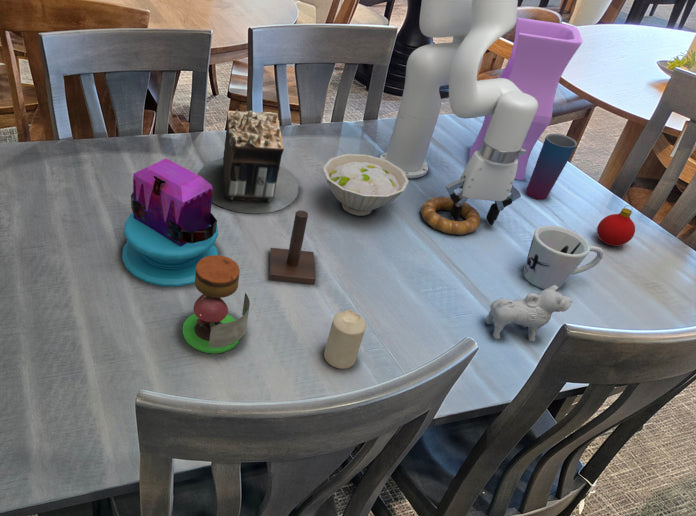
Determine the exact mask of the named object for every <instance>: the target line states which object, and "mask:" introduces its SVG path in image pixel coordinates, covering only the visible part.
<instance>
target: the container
mask: <svg viewBox="0 0 696 516" xmlns="http://www.w3.org/2000/svg"><path fill="white" fill-rule="evenodd" d="M582 43H583V39H582V36H581V33H580V30H579V28H578V27H575V26H573V25H570V24H564V23H558V22H553V21H544V20H538V19H531V18H525V17H518V16H517V21H516V24H515V32H514V41H513V44H512V49H511V52H510V56H509V59H508V61H507V63H506V65H505V67H504V69H503V70H502V72H501V73H500V75H499V76H498V78H505V79H508V80H510V81H512V82H513V83H514V84H515V85H516V86H517V87H518V88H519V89H520V90H521V91H522V92H523V93H526V94H528V95H531V96H533V97H534V98H535V99H536V100H537V102H538V109H537V111H536V114H535V116H534V119H533V121H532V123H531V126H530V128H529V130H528V133H527V135H526V137H525V140H524V142H523V144H522V147H521V148H525V149H526V153H525V154H524V155H522V154H521V155H519V156H518V159H517V160H518V166H517V171H516V175H515V179H514V180H519V181H525V178H526V177H525V176H526V171H527V166H528V163H529V158H530V156H531V154H532V151H533V149H534V147H535V145H536V143H537V142H538V140H539V139H540V137H541V136H542V135H543V133H544V132H545V130H546V129H547V128H548V127H549V125H550V123H551V120H552V119H553V111H554V103H555V96H556V92H557V89H558V86H559V83H560V81H561V80H560V79H561V78H562V76H563V73H564V72H565V70H566V68H567V66H568V65H569V63H570V61H571V60H572V58H573V56H574V55H575V54H576V52H577V51H578V50H579V48H580V47H581V45H582ZM483 118H484V119H483V121H482V125H481V127H480V129H479V132H478V133H477V136H476V137H475V140H474V142H473V143H472V145H471V147H470V149H469V150H468V151H469V152H468V154H469V155H468V161H469V160H470V158H471V157H472V155H473V154H474V152H475V151H480V148H481V145H482V143H483V140H484V137H485V135H486V132H487V129H488V127H489V124H490V122H491V119H492V116H484V117H483Z"/></svg>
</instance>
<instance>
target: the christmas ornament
mask: <svg viewBox="0 0 696 516" xmlns="http://www.w3.org/2000/svg"><path fill="white" fill-rule="evenodd" d="M626 207H630V208H633V206H632V205H630V204H629V205H628V204H627V205H625V206H624V207H622V208H621V211H620V212H619V213H613V214H609V215H607V216H605V217H603V218H602V219H601V220H600V221H599V223H598V225H597V227H596V233H597V236H598V238H599V240H600V241H601V242H603V243H604V244H606V245H608V246H611V247H616V246H617V247H618V246H624V245H625V244H627V243H629V242H630V241H631V240H632V239H633V238H634V235H635V233H636V225H635V223H634V221H633V220H632V219H631V215H632V214H633V209H629V208H626Z"/></svg>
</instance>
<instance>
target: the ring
mask: <svg viewBox="0 0 696 516" xmlns="http://www.w3.org/2000/svg"><path fill="white" fill-rule="evenodd" d="M453 204H454V202H453V200H452V199H451V197H450V196H449V197H448V196H437V197H432V198H429V199H427V200H426V201H425V202H424V203H423V205H422V206H421V208H420V213H421V216H422V219H423V221H424V222H425V223H427V224H428V225H429V226H430V227H431V228H433V229H434V230H437V231H440V232H442V233H445V234H449V235H456V236H457V235H459V236H464V235H467V234H471V233H474V232H475V231H477V229H478V228H479V226H480V225H481V223H482V218H481V216H480V214H479V211H478V210H477V209H476V208H475V207H473V206H472V205H471V204H470V203H468V202H467V201H466V202H464V203H463V204H462V211H461V214H460V216H462V217H463V218H464V219H465V220H462V221H461V220H458V221H454V220H452V219H449V218H447V217H443V216H441V215H440V214H439V213H437V211H440V210H442V211H450V212H451V209H452V207H453Z"/></svg>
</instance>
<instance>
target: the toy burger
mask: <svg viewBox="0 0 696 516" xmlns="http://www.w3.org/2000/svg"><path fill="white" fill-rule="evenodd" d="M240 271H241V269H240V266H239V265H238V263H237V262H236V261H235V260H233V259H232V258H230V257H228V256H224V255H219V254H218V255H213V256H207V257H205V258H203V259H201V260H200V261H199V262H198V263H197V265H196V272H195V283H194V286H195V288H196V289H197V291H198V292H199V293H200V294H201V295H200V296H199V297H198V298H197V299H196V300H195V302H194V304H193V314H191V315H189V316H188V317H187V318H186V319H185V321H184V323H183V324H182V336H183V339H184V340H185V342H186V344H188V345H189V346H190V347H191V348H193V349H195V350H197V351H199V352H202V353H205V354H221V353H226V352H228V351H231V350H232V349H234V348H235V347H236V346H237V345H238V344H239V342H240V341H241V338H242V337H243V336H244V335H245V334H246V331H247V327H248V320H249V312H250V305H251V302H250V298H249V296H248V294H247V293H246V292H244V297H243V305H242V313H241V315H242V316H241V317H239V318H237V319H236V318H235V317H233V316H231V314H229V307H228V304H227V303H226V302H225V300H223V299H222V298H227V297H230V296H232V295H233V294H235V293H236V291H237V290H238V288H239V279H240Z"/></svg>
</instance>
